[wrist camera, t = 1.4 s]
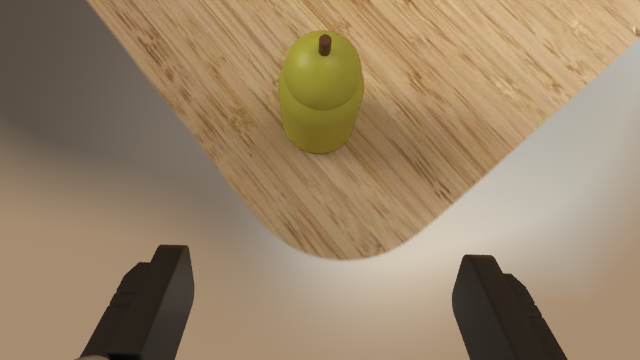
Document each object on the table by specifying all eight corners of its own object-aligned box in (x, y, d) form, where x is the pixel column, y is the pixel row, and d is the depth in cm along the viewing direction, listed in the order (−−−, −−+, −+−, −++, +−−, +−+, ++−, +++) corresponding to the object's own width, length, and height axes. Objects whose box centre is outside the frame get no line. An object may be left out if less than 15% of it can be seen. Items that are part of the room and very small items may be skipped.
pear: (268, 129, 29) (250, 52, 19) (307, 74, 30) (309, -25, 21) (329, 167, 29) (342, 108, 19) (367, 110, 30) (397, 26, 20)
